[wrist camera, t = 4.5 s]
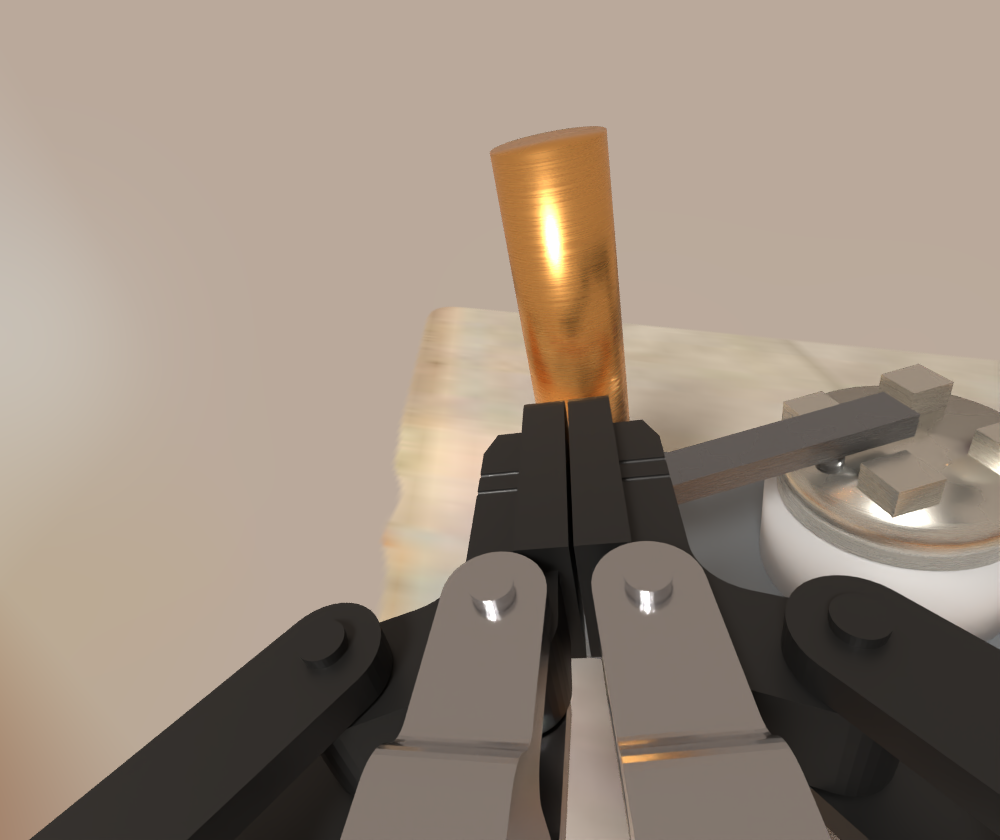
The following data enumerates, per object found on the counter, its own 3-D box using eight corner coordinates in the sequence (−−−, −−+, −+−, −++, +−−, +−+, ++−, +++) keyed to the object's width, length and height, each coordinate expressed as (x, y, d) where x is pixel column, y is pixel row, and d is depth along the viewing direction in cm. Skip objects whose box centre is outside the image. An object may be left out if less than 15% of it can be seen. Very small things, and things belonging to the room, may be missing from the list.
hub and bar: (906, 409, 28) (1001, 9, 20) (1101, 530, 21) (1400, -32, 12) (541, 514, 27) (465, 137, 18) (608, 682, 20) (534, 182, 11)
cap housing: (937, 470, 32) (959, 391, 29) (1070, 712, 21) (1128, 624, 18) (582, 466, 38) (573, 401, 35) (544, 652, 27) (526, 579, 24)
